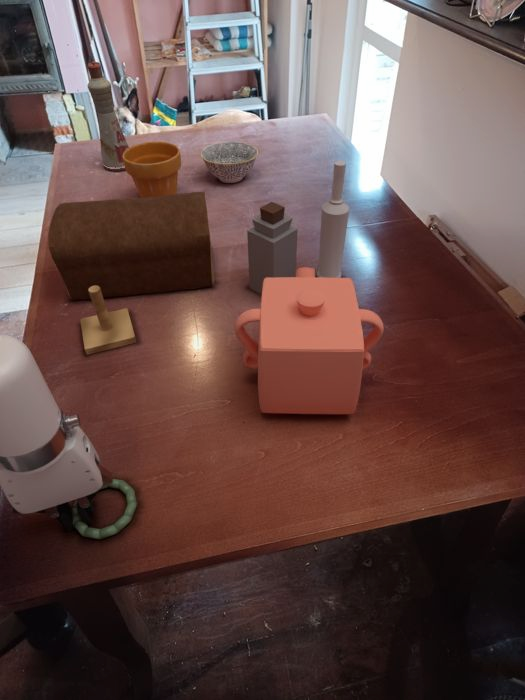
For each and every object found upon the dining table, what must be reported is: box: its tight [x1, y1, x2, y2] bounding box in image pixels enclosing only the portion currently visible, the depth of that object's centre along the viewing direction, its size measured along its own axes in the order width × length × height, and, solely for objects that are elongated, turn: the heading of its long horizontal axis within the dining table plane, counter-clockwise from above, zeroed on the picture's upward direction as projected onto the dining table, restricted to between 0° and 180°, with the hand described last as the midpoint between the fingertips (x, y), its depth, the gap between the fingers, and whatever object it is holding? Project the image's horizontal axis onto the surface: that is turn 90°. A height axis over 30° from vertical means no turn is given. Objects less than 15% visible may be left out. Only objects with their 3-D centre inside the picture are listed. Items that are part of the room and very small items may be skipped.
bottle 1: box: [87, 61, 130, 172], centre depth 135 cm, size 9×9×28 cm
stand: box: [79, 286, 137, 356], centre depth 86 cm, size 9×9×10 cm
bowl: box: [199, 141, 259, 184], centre depth 135 cm, size 16×16×8 cm
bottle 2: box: [316, 160, 351, 278], centre depth 92 cm, size 5×5×25 cm
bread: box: [47, 191, 216, 301], centre depth 98 cm, size 18×30×16 cm, turn 98°
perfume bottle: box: [246, 201, 298, 296], centre depth 93 cm, size 7×7×18 cm
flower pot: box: [122, 141, 182, 198], centre depth 123 cm, size 14×14×13 cm
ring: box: [71, 478, 138, 540], centre depth 64 cm, size 8×8×1 cm
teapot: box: [234, 266, 385, 415], centre depth 77 cm, size 25×23×18 cm
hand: (79, 517), depth 64 cm, fingers closed on ring, 1 cm apart
